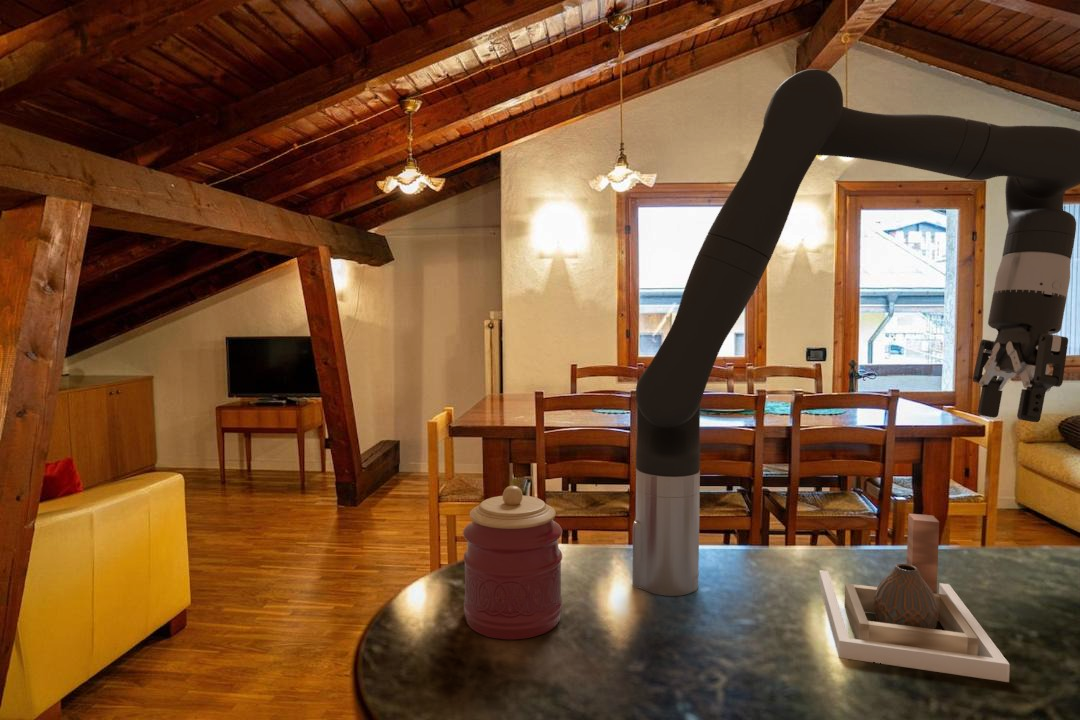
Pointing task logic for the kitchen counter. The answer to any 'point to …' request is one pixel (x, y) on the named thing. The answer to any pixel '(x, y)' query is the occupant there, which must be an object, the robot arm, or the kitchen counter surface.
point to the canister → (512, 567)
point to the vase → (905, 599)
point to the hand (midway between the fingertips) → (1006, 418)
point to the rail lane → (981, 666)
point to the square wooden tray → (926, 561)
